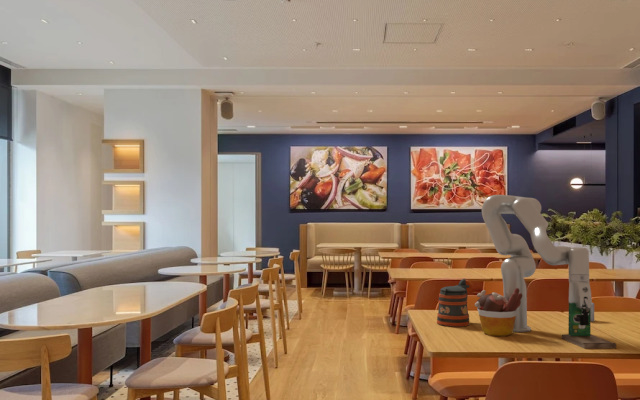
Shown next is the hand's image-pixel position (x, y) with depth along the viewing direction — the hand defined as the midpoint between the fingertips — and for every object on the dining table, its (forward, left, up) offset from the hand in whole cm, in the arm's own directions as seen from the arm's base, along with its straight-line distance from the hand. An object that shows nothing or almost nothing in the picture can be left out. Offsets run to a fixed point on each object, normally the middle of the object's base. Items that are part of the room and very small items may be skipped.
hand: (579, 323), depth 223 cm
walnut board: (0, -6, -7) cm, 9 cm away
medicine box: (+24, +42, -7) cm, 49 cm away
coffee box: (0, 0, -5) cm, 5 cm away
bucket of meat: (-28, +13, -7) cm, 32 cm away
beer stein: (-39, +38, -7) cm, 55 cm away
